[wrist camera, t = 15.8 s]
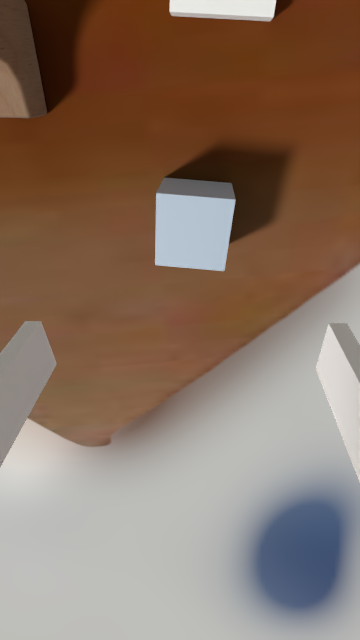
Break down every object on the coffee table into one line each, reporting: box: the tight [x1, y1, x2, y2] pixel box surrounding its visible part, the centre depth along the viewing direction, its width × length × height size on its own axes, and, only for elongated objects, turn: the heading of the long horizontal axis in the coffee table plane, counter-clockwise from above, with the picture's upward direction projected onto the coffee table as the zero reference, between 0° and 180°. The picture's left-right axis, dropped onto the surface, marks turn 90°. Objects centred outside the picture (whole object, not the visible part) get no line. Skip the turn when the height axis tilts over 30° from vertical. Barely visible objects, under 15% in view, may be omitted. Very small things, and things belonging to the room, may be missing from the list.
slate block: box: [155, 178, 236, 271], centre depth 37 cm, size 8×8×7 cm
